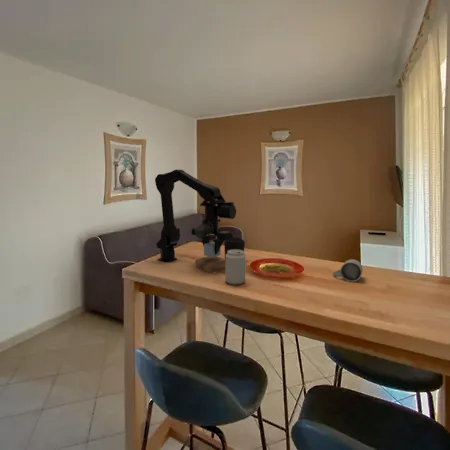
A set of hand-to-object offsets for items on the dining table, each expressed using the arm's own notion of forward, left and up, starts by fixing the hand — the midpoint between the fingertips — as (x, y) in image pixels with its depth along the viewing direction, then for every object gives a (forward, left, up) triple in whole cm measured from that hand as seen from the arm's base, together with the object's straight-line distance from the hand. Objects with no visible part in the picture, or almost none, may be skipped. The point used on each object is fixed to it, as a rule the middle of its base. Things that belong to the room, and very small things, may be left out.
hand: (211, 253), depth 130 cm
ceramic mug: (+50, +25, -7) cm, 56 cm away
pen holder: (+1, +15, -7) cm, 17 cm away
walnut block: (0, 0, -7) cm, 7 cm away
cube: (0, +1, -1) cm, 1 cm away
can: (+18, -7, -7) cm, 21 cm away
